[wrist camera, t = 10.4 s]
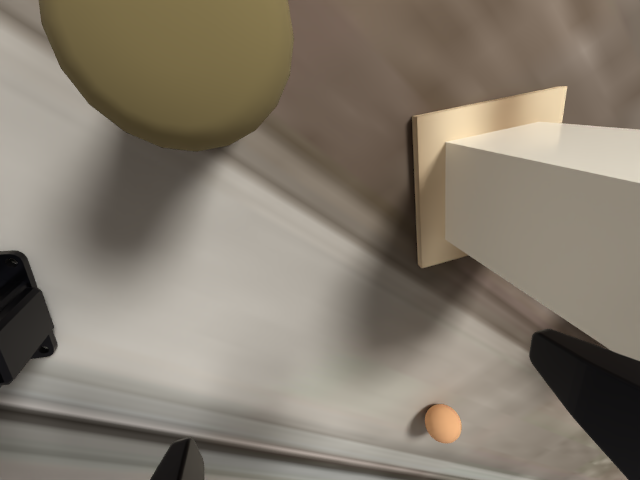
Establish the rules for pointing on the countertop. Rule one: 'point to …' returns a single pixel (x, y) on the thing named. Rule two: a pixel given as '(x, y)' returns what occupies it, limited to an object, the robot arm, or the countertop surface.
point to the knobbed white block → (555, 220)
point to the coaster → (456, 125)
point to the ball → (443, 423)
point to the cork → (175, 64)
